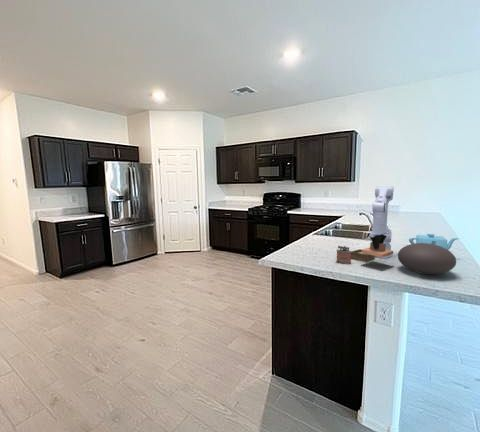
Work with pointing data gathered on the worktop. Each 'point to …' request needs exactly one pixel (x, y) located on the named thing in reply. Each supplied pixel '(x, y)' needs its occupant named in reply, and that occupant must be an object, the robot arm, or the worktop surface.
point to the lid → (377, 250)
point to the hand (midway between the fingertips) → (377, 248)
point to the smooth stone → (427, 258)
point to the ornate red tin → (343, 255)
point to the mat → (377, 266)
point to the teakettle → (433, 240)
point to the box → (361, 256)
